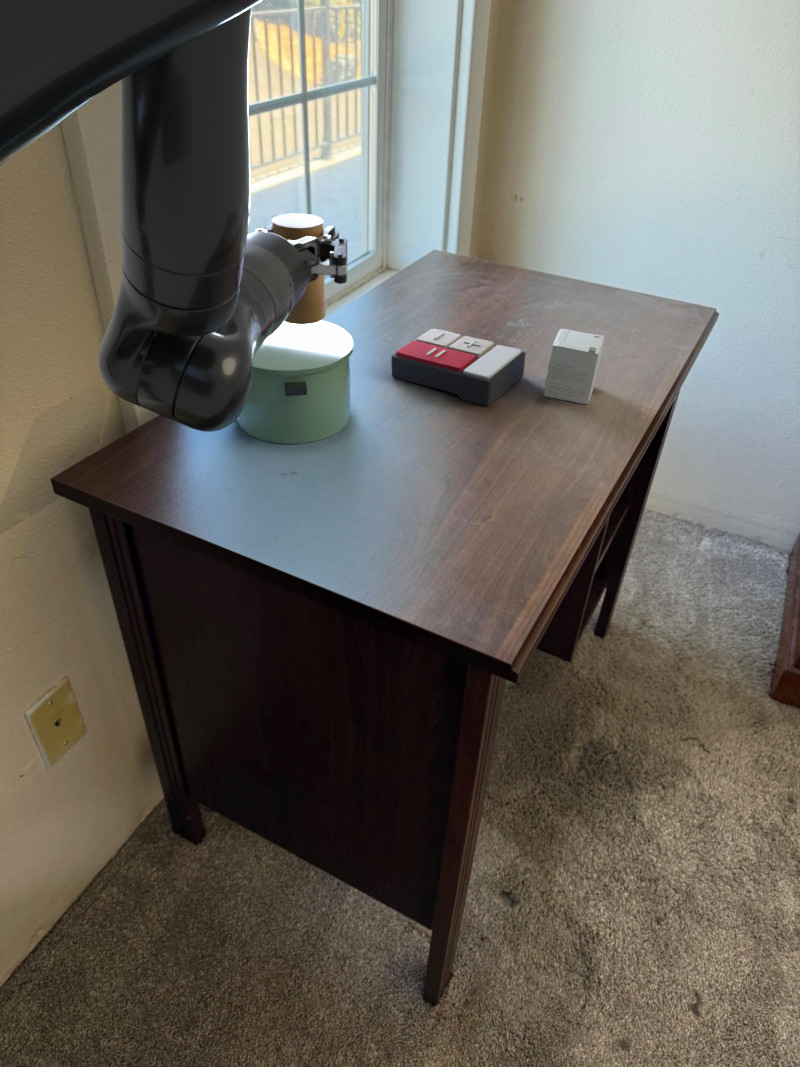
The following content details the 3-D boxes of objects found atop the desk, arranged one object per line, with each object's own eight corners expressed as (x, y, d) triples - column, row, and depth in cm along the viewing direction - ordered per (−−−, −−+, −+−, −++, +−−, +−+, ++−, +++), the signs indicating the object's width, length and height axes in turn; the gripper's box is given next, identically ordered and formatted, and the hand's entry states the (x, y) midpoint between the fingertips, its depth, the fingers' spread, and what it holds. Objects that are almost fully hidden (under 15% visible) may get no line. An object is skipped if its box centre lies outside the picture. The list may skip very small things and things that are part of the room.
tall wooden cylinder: (279, 325, 80) (273, 228, 73) (276, 306, 84) (270, 213, 77) (327, 323, 80) (325, 227, 74) (323, 305, 84) (321, 212, 78)
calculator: (431, 324, 107) (527, 346, 100) (431, 352, 110) (524, 376, 103) (389, 350, 100) (490, 376, 93) (390, 380, 102) (488, 407, 96)
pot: (234, 454, 85) (225, 377, 79) (232, 386, 98) (224, 316, 92) (362, 445, 88) (363, 370, 82) (344, 381, 100) (344, 312, 94)
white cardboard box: (550, 377, 103) (559, 327, 99) (594, 385, 102) (605, 334, 97) (542, 397, 99) (551, 344, 94) (588, 405, 97) (600, 353, 93)
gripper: (331, 253, 63) (371, 201, 76) (169, 237, 64) (237, 189, 78) (332, 337, 67) (370, 275, 81) (182, 321, 69) (243, 262, 82)
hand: (305, 233), depth 79 cm, fingers closed on tall wooden cylinder, 5 cm apart
